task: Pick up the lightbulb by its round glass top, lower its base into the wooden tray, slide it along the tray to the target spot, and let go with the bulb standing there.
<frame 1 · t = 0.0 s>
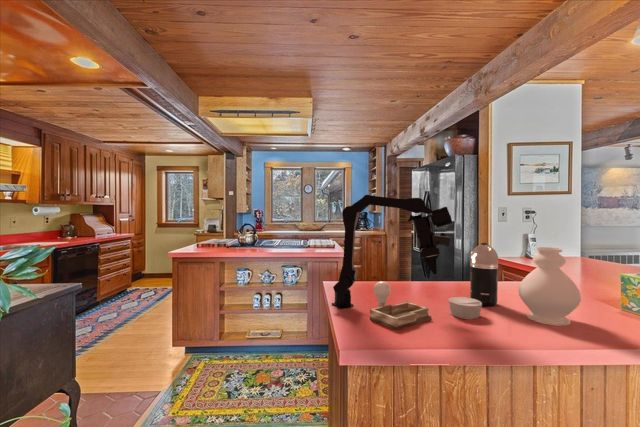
hand: (434, 271, 119), 15 cm above the countertop, tool pointing down, fingers open, 9 cm apart
decorative vase: (547, 320, 113), on the countertop
wooden tray: (400, 319, 113), on the countertop
lightbulb: (382, 310, 123), on the countertop
black copper bottle: (483, 303, 132), on the countertop
ramekin: (464, 315, 117), on the countertop
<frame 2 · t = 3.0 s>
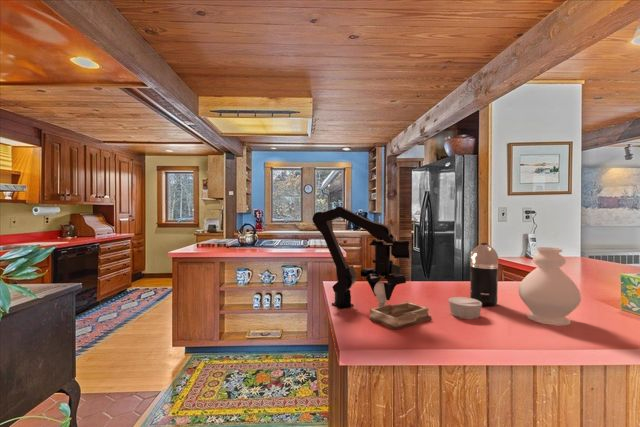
hand: (382, 298, 123), 5 cm above the countertop, tool pointing down, fingers closed on lightbulb, 6 cm apart
lightbulb: (382, 310, 123), on the countertop, touching gripper
everything else where it was.
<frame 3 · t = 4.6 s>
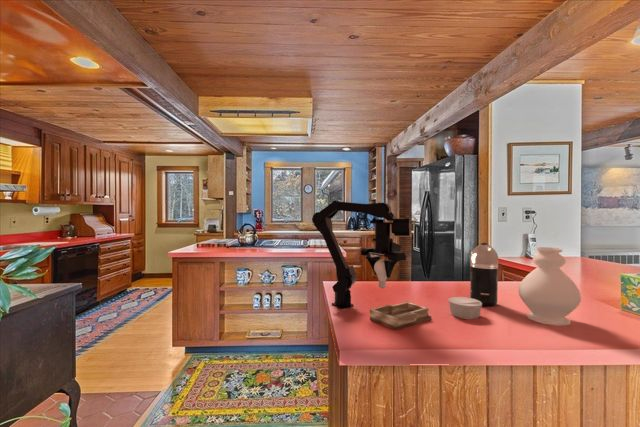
hand: (382, 276, 123), 13 cm above the countertop, tool pointing down, fingers closed on lightbulb, 6 cm apart
lightbulb: (382, 288, 123), point 8 cm above the countertop, touching gripper
everything else where it was.
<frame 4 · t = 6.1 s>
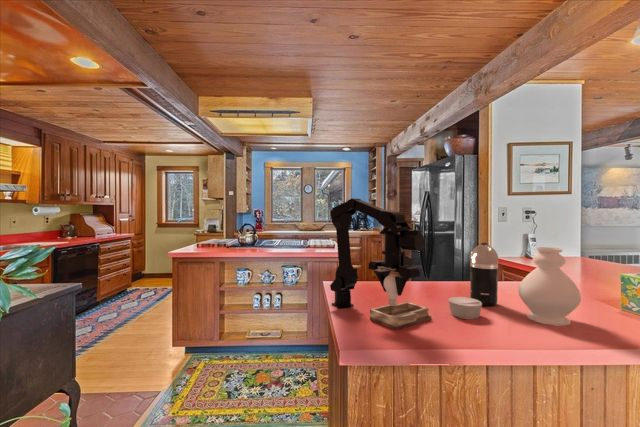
hand: (392, 293, 110), 10 cm above the countertop, tool pointing down, fingers closed on lightbulb, 6 cm apart
lightbulb: (392, 307, 111), point 5 cm above the countertop, touching gripper
everything else where it was.
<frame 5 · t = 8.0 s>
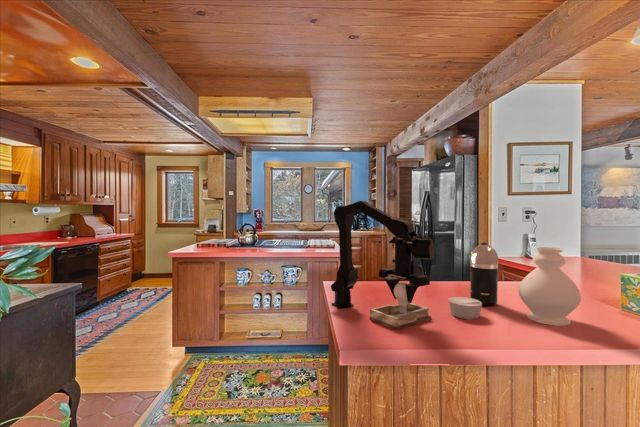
hand: (402, 300, 113), 6 cm above the countertop, tool pointing down, fingers closed on lightbulb, 6 cm apart
lightbulb: (402, 314, 113), point 2 cm above the countertop, touching gripper
everything else where it was.
when the fingers open (6 cm above the countertop, at t = 9.6 s): lightbulb stays where it is, resting on wooden tray.
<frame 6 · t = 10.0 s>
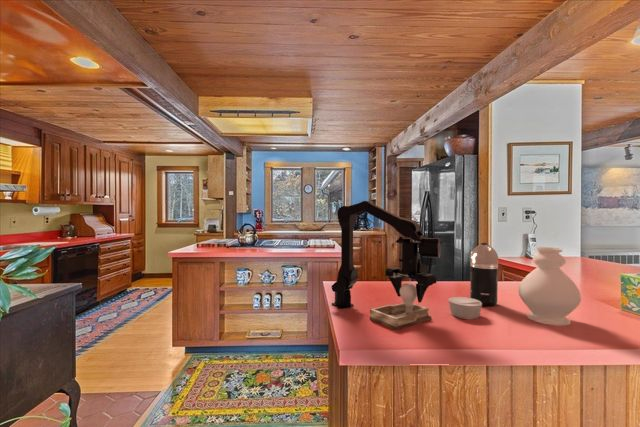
hand: (409, 299, 115), 6 cm above the countertop, tool pointing down, fingers open, 9 cm apart
lightbulb: (408, 314, 115), point 1 cm above the countertop, touching wooden tray
everything else where it was.
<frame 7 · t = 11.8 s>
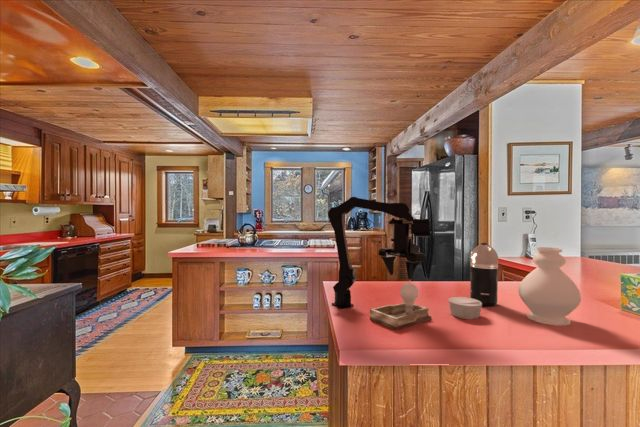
hand: (400, 277, 122), 13 cm above the countertop, tool pointing down, fingers open, 9 cm apart
nothing on the countertop moved.
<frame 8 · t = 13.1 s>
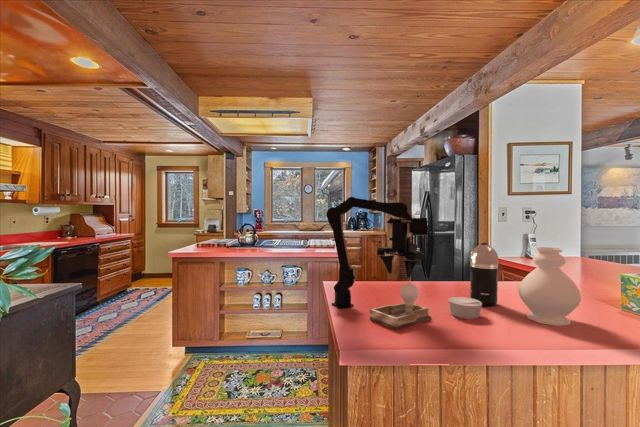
hand: (399, 275, 124), 13 cm above the countertop, tool pointing down, fingers open, 9 cm apart
nothing on the countertop moved.
at the end: lightbulb 0.1 cm from the target spot on the wooden tray, point 0.8 cm above the wooden tray's base; lightbulb tilted 0°; the gripper is holding nothing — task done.
